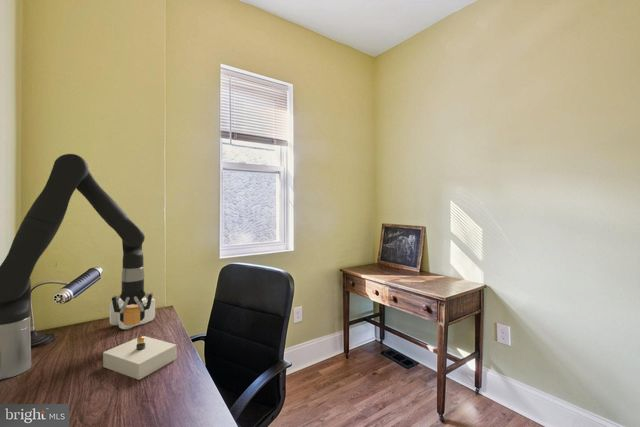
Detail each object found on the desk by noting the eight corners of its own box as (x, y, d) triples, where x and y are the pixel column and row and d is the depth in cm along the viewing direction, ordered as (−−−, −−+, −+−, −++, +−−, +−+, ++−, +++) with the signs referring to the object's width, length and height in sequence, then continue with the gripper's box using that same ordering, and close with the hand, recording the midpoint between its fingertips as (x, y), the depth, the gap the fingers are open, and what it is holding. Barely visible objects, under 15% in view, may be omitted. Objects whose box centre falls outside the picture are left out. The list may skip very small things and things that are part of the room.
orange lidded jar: (130, 326, 113) (130, 311, 113) (120, 323, 116) (120, 308, 116) (144, 321, 119) (144, 306, 118) (134, 319, 121) (134, 304, 121)
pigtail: (139, 350, 101) (139, 339, 101) (134, 349, 102) (134, 337, 102) (146, 347, 103) (146, 336, 103) (141, 346, 104) (141, 334, 104)
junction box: (139, 379, 93) (138, 364, 92) (103, 366, 100) (103, 352, 100) (176, 358, 105) (176, 344, 105) (142, 348, 113) (142, 335, 112)
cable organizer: (144, 316, 145) (143, 292, 145) (155, 320, 139) (155, 296, 139) (109, 326, 132) (108, 301, 132) (120, 332, 127) (120, 305, 126)
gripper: (108, 282, 111) (108, 326, 111) (152, 279, 116) (151, 322, 116) (114, 277, 118) (113, 319, 118) (155, 275, 123) (154, 315, 123)
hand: (132, 320), depth 117 cm, fingers closed on orange lidded jar, 5 cm apart
